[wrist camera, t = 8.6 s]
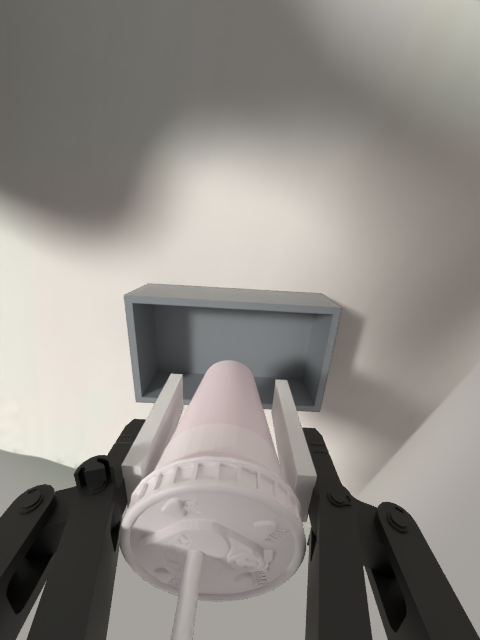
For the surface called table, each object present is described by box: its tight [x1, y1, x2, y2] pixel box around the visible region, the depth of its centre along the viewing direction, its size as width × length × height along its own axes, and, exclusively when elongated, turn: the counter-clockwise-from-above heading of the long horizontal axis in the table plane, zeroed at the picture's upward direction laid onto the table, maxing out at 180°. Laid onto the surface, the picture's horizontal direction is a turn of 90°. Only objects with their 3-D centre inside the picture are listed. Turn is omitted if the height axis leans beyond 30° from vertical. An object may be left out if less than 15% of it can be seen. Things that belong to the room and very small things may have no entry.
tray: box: [124, 283, 342, 412], centre depth 22 cm, size 17×10×5 cm, turn 87°
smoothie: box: [119, 360, 306, 640], centre depth 10 cm, size 6×6×14 cm
